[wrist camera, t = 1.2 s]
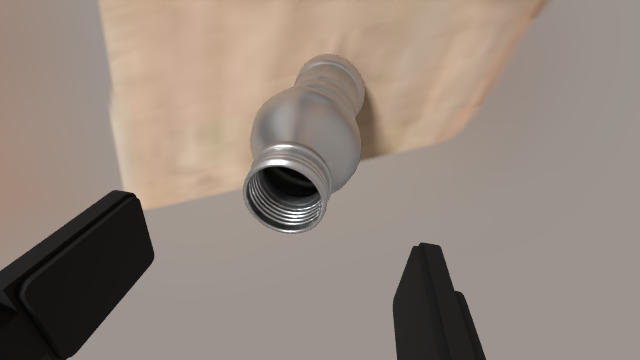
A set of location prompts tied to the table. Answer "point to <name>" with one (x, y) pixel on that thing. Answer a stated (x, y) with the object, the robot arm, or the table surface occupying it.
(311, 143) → the metal water bottle
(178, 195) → the table surface
